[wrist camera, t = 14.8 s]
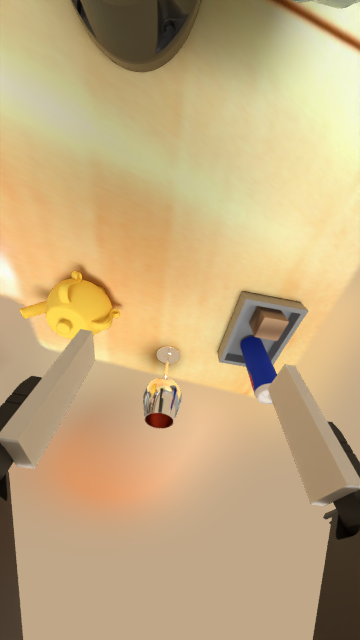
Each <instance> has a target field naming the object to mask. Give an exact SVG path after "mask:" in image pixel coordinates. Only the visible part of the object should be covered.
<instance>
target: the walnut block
mask: <svg viewBox="0 0 360 640" xmlns="http://www.w3.org/2000/svg"><path fill="white" fill-rule="evenodd" d="M288 323H289V321H288V319H287V318H286V317H285V315H284V314H283V312H282V311H281V310H277V309H272V308H267V307H262V306H257V307H256V309H255V311H254V313H253V315H252V317H251V320H250V322H249V325H250V327H251V329H252V332H253V334H254V337H258V338H264V339H269V340H275V341H278V339H279V338H280V336H281V335H282V333H283V331H284V330H285V328H286V326H287V325H288Z"/></svg>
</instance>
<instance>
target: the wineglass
mask: <svg viewBox="0 0 360 640" xmlns="http://www.w3.org/2000/svg"><path fill="white" fill-rule="evenodd" d="M157 358H158V360H159V361H161V362H163V363H165V371H164V376H163V377H160V378H157V379H154V380H153V381H151V382H150V383H149V384H148V385H147V386H146V388H145V391H144V396H143V403H144V419H145V422H146V423H147V424H148V425H149V426H151V427H154V428H161V429H162V428H168V427H170V426H172V425H173V423H174V420H175V418H176V415H177V412H178V409H179V406H180V403H181V390H180V388H179V386H178V385H177V384H176V382H174V381H173V380H172V379H170V378H168V377H167V372H168V365H169V364H173V363H176V362H177V361H178V360H179V359H180V353H179V351H178V350H177V349H176V348H174V347H170V346H165V347H161V348H160V349H159V350H158V351H157Z"/></svg>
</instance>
